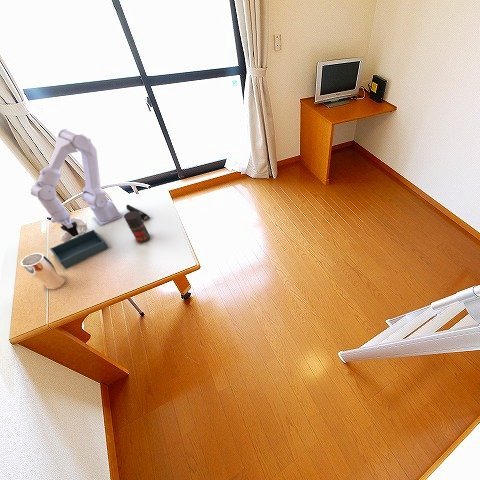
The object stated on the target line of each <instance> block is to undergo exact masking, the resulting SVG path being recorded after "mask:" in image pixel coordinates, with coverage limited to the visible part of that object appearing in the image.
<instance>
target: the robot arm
mask: <svg viewBox="0 0 480 480" xmlns="http://www.w3.org/2000/svg"><path fill="white" fill-rule="evenodd" d="M53 149H54V150H53V152H52V154H51V158H50V161H49V164H48V166H45V167H43V168H42V170H40V171H39V172H38V173H39V176H38V178H37V181H35V183H34V184H33V185H32V186H31V188H30V194H31V195H32V196H34V197H36V198H37V200H38V201H39V202H40V203H41V205H42V206H43V207H44V209H45V210H46V212H48V215H50V216H51V218H52V219H50V222H51V223H53V224H54V223H57V224H60V225H61V226H60V229H61V230H62V231H63V232H65V231H67V232H68V233H70V234H71V235H72V236H73V238H75V237H78V236H80V235H79V234H78V231H77V223H76V222H73V223H71V219H72V214H71V213H69V211H68V210H67V209H66V207H65V206H64V204H63V203H62V202H61V200H60V199H59V197H57V196H58V193H57V190H56V189H57V185H58V183H59V181H60V179H61V176H62V172H61V171H60V170H61V168H62V166H63V165H64V163H65V161H66V159H67V158H68V156H69V154H73V153H78V152H80V154H81V161H82V168H83V170H82V171H83V176H84V184H85V186H84V187H82V193H81V200H83V201H84V202H85V203H87V204H88V207H89V208H90V210H91V211H92V213H93V215H94V216H95V217H94V219H95V220H96V222H98V223H99V224H100V226H103V225H106V224H108V223H110V222H113V221H115V220H117V219H119V218H121V217H122V215H121V214H120V212H119V210H118V208H117V206H116V205H115V203H114V202H113V201H112V200H111V199H108V198H107V195H106V192H105V190H104V189H103V188H102V187H101V178H100V171H99V161H98V152H97V148H96V147H95V146H94V144H93V143H92V140H91V139H90V138H89V137H88V136H86V135H84V134H82V133H79V132H76V131H74V130H71V129H69V128H63V129H60V130H59V132H58V135H57V136H56V138H55V147H54V148H53Z"/></svg>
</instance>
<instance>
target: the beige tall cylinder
mask: <svg viewBox="0 0 480 480" xmlns="http://www.w3.org/2000/svg"><path fill="white" fill-rule="evenodd" d="M20 265H21V267H23V268H24V269H25V271H26V272H27V273H29V275H31V276H32V277H34V278H35V279H37V280H39V281H40V282H42V283H43V285H44V286H45V287H46V289H48V290H56V289H59V288H61V287H62V286H63V285H64V284H65V281H66V279H65V278H64V277H63V276H61V275H60V274H59V273H58V272H57V270H56V267H55V266H54V264H53V263H52V262H51V260H50V259H48V258H47V256H45V255H44V254H43V253H41V252H34V253H31V254H29V255H26V256H24V258H22V259H21V261H20Z"/></svg>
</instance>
